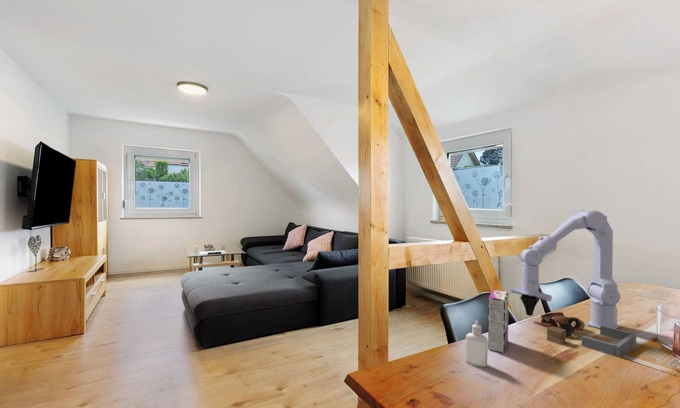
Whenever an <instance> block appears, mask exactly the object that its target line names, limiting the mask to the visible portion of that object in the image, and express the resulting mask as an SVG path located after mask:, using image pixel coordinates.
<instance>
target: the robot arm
mask: <svg viewBox="0 0 680 408" xmlns="http://www.w3.org/2000/svg"><path fill="white" fill-rule="evenodd" d="M581 229H582V230H584V229H585V230H587V231H589V232H590V233H591V234H592V235H593V236H594V238H593V239H594V240H593V241H594V242H593V276H592V277H591V278H590V279H589V285H588V286H587V289H586V290H587V294H588V295H589V297H590V320H589V321H588V322H587V323H585V325H586V326H590V327H594V328H597V329H600V326H601V325H603V326H607V327H611V328H615V329H619V328H620V327H621V325H620V324H618V308H617V304H618V303H619V302H620V300H621V294H620V292H619V288H618V284H617V282H616V281H614V278H613V251H614V250H613V245H614V244H613V243H614V242H613V241H614V240H613V239H614V237H613V236H614V232H613V229H612V227H611V225H610V223H609V222H608V216H607V215H605V214H604V213H602V212H601V211H599V210H578V211H576V212H575V213H574V214H571V215H570V216H569V217H568V218H567V220H566V221H564V222H563V223H562V224H561V225H560V226H559V227H558V228H557V229H555V230H554V232H552V233H551V234H550V235H543V236H539V237H538V238H537V241H536V242H534V243H533V244H532V245H531V244H530V245H529V246H528V248H525V249H523V250H522V251H521V252H520V255H519V260H521V287H520V288H519V287H515V286H511V287H509V288H510V289H509V293H514V294H517V295H521V296H520V300H521V301H522V304H523V307H524V309H525V314H526V315H527V316H530V317H531V316H533V315H534V311H535V308H536V306H537V304H538V302H539V301H540V300H543V301H546V302H551V301H552V299H553V298H552V294H547V293H543V292H541V291H539V290H540V288H539V287H540V286H539V285H540V283H539V282H540V280H539V279H540V264H541V263H542V262H543V258H545V256H547V255H548V254H550V253H551V252H552V251H554V249H557V245H558V242H559V241H561V240H562V239H564V238H565V237H566V236H568V235H570V234H571V233H573V232H574V231H575V230H581Z"/></svg>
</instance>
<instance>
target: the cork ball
mask: <svg viewBox="0 0 680 408" xmlns="http://www.w3.org/2000/svg"><path fill="white" fill-rule="evenodd" d="M578 319H579V320H580V322H581V326H580V328H579V329H578V330H583V329H585V325H586V323H585V322H584V321H583V320H582V319H580V318H578ZM575 325H576V322H575V321H573V322H572V326H573V327H574V326H575Z"/></svg>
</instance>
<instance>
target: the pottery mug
mask: <svg viewBox="0 0 680 408" xmlns="http://www.w3.org/2000/svg"><path fill="white" fill-rule="evenodd" d="M540 318H541V320H540V322H541V324H547V325H551V327H552V326H553V327H557V328H560V329H564V330H566V337H571V338H572V337H573V334H574V332H575V331H578V330H580V329H579V328H580V326H581V322H580V320H581V319H580V318H578V317H576V316H575V317H574V316H572V317H571V316H570V317H567V316H565V315H564V312H561V311H555V312H548V313H544V314H541V315H540ZM579 319H580V320H579ZM573 321H575V322H576V325H575V326H573Z"/></svg>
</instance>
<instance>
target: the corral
mask: <svg viewBox="0 0 680 408" xmlns="http://www.w3.org/2000/svg"><path fill="white" fill-rule="evenodd" d="M599 329H600V330H599V333H600V335H602V336H605V337H609V338H613V339H617V340H619V341H618V342H617V343H615V344H614V343H610V342H607V341H603V340H601V339H596V338H592V337H589V336H586V335H582V336H581V346H582V347H585V348H588V349H591V350H595V351H597V352H601V353H603V354H607V355H611V356H614V357H617V358H619V357H620V356H623V354H625V351H626V352H627V351H628V350H629V349H631V348H632V347H633V346H634V345H636V344H637V333H635V332H631V331H627V330H622V329H619V328H617V329H615V328H611V327H607V326H603V325H601V326H600V328H599ZM631 346H632V347H631ZM630 347H631V348H630Z"/></svg>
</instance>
